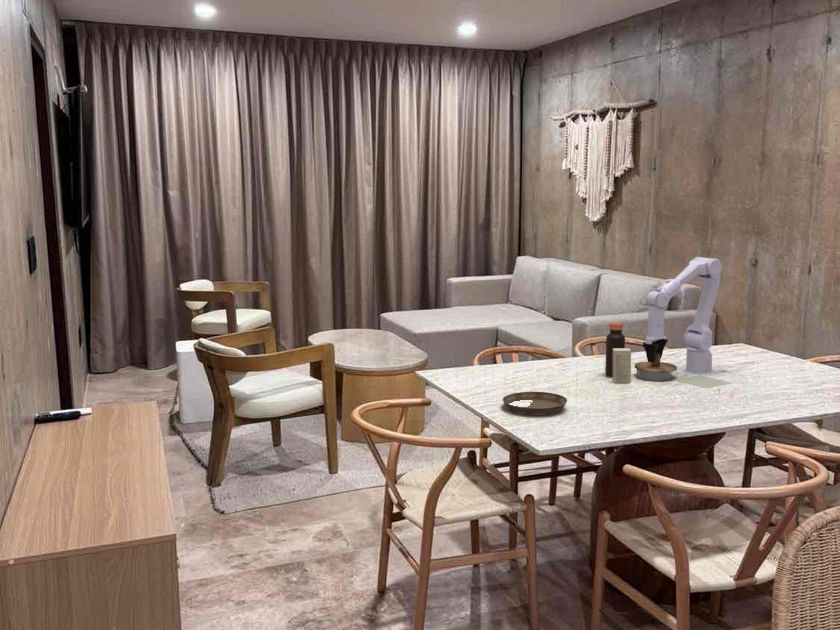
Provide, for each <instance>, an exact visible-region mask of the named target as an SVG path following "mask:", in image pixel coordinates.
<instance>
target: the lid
mask: <svg viewBox="0 0 840 630" xmlns="http://www.w3.org/2000/svg"><path fill="white" fill-rule="evenodd" d="M634 368H635V369H636V370H637V369H638V370H641V371H646V372H656V373H666V372H671V373H673V372H676V371H677V369H678V366H677V365H676V364H672V363H669V362H664V361H661V359H660V354H659V353H656V355H655V360H654V362H648V361H639V362H635V364H634Z"/></svg>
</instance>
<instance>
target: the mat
mask: <svg viewBox="0 0 840 630" xmlns="http://www.w3.org/2000/svg"><path fill="white" fill-rule="evenodd" d="M674 381H675V382H680V383H684V384H688V385H690V386H691V385H692V386H695V387H700V388H704V389H711V388H715V387H716V388H717V387H721V386H725V385H729V384H732V382H731V381H726V380H722V379H717V378H713V377H710V376H709V377H708V376H705V375H702V374H700V375H695V376H690V377H685V378H680V379H675V380H674Z"/></svg>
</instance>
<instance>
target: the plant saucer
mask: <svg viewBox="0 0 840 630" xmlns="http://www.w3.org/2000/svg"><path fill="white" fill-rule="evenodd" d="M520 400H532V401H533V402H532V403H531V402H530V403H531V404H530V406H528V407H518V406H513V405H510V404H509V403H512V402H514V401H520ZM502 402H503V404H504V405H505V406H506V408H508V409H509V410H510V411H512V410H513V411H512V412H514V411H515V412H514V413H516V412H519V413H518V414H520V413H524V414H523V415H526V414H533V415H532V416H544V415H543V414H547V415H552V414H555V412H556V413H558V412H560V411H561V410H562V409H563V408H564V407H565V406H566V405H567V403H568V398H567V397H565V396H563V395H560V394H557V393H554V392H553V393H552V392H546V391H520V392H514V393H510V394H507V395H505V396H504V397H502Z"/></svg>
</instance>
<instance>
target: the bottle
mask: <svg viewBox="0 0 840 630" xmlns="http://www.w3.org/2000/svg"><path fill="white" fill-rule="evenodd" d="M608 326H609V327H608V328H609V333H608V334H607V335H606V337H605V338H606V339H605V340H606V341H605V344H606V346H605V370H604V371H605V372H604V373H605V376H606V377H607V378H608V377H610V378H612V365H613V348H626V336H625V335H624V334H623V331H624V330H623V329H624V324H623V322H610V323H609V325H608Z"/></svg>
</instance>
